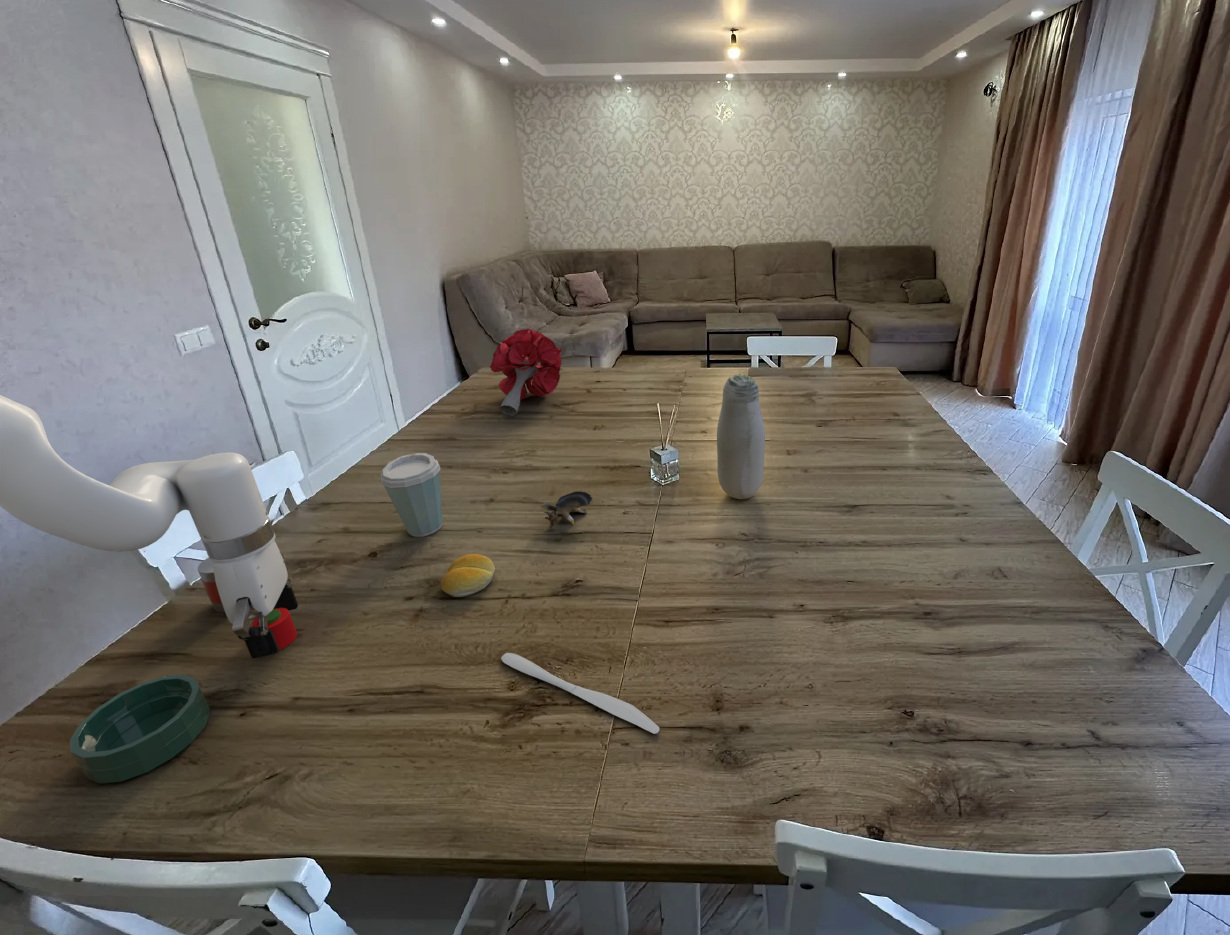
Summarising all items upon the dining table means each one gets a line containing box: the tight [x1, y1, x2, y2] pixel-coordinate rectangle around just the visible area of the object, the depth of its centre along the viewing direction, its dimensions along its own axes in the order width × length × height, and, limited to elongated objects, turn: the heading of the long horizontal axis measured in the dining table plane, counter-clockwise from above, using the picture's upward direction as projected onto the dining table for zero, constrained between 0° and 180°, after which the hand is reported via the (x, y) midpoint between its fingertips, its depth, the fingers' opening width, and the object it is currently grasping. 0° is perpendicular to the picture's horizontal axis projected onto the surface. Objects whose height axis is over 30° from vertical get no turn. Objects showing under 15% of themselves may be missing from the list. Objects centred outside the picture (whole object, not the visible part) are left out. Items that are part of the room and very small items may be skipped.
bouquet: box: [489, 328, 563, 416], centre depth 176 cm, size 22×24×30 cm
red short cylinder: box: [251, 608, 298, 651], centre depth 84 cm, size 5×5×5 cm
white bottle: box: [716, 373, 766, 500], centre depth 119 cm, size 10×10×28 cm
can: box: [197, 557, 225, 613], centre depth 93 cm, size 6×6×8 cm
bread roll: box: [440, 553, 496, 598], centre depth 97 cm, size 8×9×4 cm
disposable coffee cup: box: [380, 452, 444, 538], centre depth 110 cm, size 11×11×15 cm
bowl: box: [69, 673, 212, 785], centre depth 69 cm, size 11×11×5 cm
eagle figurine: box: [540, 490, 593, 528], centre depth 114 cm, size 8×7×9 cm
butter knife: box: [500, 652, 660, 735], centre depth 76 cm, size 1×27×3 cm
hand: (276, 631), depth 85 cm, fingers open, 9 cm apart
